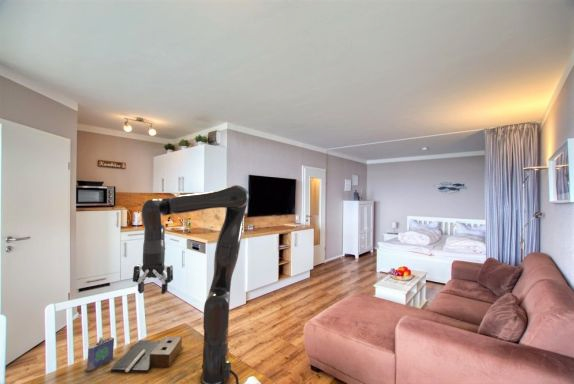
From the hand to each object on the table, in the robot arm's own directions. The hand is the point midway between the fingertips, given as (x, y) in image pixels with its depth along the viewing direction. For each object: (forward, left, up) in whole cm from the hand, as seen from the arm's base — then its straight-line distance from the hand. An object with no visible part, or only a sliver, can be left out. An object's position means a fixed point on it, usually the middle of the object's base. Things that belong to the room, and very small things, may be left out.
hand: (152, 292), depth 98 cm
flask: (+23, -7, -33) cm, 41 cm away
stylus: (+9, -14, -31) cm, 35 cm away
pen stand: (-1, -13, -32) cm, 35 cm away
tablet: (+9, -13, -32) cm, 36 cm away
